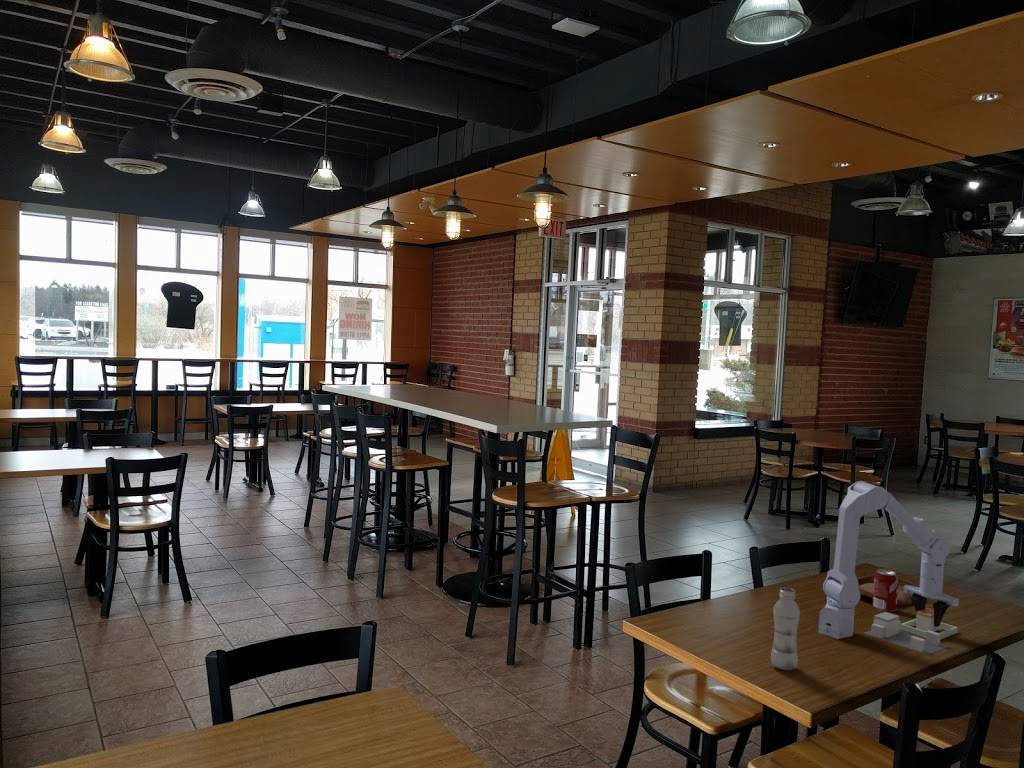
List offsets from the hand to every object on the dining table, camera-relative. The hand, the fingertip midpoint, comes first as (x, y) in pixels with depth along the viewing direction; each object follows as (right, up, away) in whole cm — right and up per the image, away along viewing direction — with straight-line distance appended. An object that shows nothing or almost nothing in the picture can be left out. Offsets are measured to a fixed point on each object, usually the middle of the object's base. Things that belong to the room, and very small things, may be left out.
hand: (928, 623), depth 218 cm
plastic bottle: (-52, -3, -27) cm, 58 cm away
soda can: (-3, -2, +20) cm, 20 cm away
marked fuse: (0, -1, 0) cm, 1 cm away
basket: (+2, -2, +33) cm, 34 cm away
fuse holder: (-11, -3, -7) cm, 13 cm away
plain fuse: (-14, -2, -3) cm, 14 cm away
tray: (0, -3, 0) cm, 3 cm away
